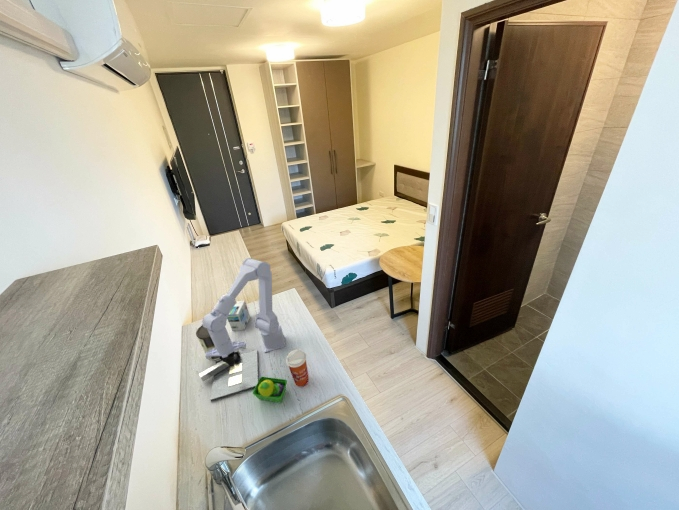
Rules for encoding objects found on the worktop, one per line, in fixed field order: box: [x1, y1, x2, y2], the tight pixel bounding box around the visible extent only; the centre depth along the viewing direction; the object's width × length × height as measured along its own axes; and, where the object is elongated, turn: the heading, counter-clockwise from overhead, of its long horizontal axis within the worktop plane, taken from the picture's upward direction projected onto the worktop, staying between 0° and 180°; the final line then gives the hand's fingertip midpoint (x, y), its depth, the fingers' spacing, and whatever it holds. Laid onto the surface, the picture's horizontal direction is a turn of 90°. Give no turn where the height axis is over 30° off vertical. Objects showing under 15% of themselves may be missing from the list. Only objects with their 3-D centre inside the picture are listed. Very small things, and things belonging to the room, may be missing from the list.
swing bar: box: [198, 354, 239, 383], centre depth 115 cm, size 2×16×3 cm, turn 130°
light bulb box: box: [227, 300, 251, 331], centre depth 140 cm, size 11×7×11 cm, turn 179°
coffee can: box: [195, 325, 220, 361], centre depth 124 cm, size 10×10×14 cm
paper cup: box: [285, 348, 309, 388], centre depth 106 cm, size 8×8×14 cm
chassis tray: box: [209, 349, 259, 402], centre depth 114 cm, size 18×19×5 cm
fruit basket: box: [252, 376, 288, 404], centre depth 102 cm, size 11×9×11 cm
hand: (232, 364), depth 109 cm, fingers closed
